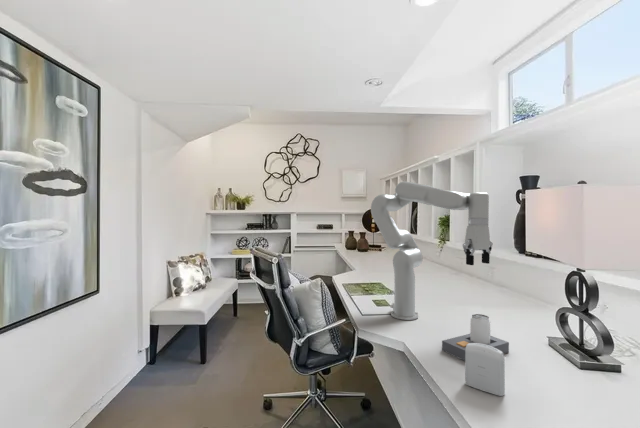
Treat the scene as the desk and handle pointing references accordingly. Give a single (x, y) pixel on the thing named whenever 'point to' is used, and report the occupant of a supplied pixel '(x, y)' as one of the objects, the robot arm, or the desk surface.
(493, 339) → the grey socket block
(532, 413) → the desk surface
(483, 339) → the can
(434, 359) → the desk surface
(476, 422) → the desk surface
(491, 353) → the photo printer
